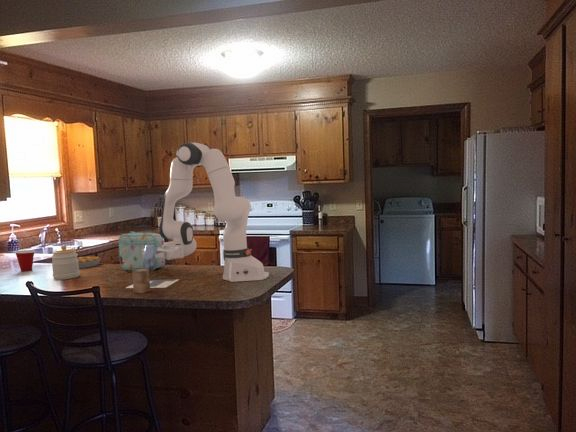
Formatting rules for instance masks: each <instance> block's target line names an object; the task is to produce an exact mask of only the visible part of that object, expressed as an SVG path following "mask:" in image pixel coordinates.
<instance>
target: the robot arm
mask: <svg viewBox="0 0 576 432" xmlns="http://www.w3.org/2000/svg"><path fill="white" fill-rule="evenodd" d="M176 156H177V157H175V158H173V160H172V161H171V164H170V171H169V185H168V188H167V190H166V191H165V193H164V196H163V204H162V212H161V219H160V222H159V225H158V232H159V233H158V234H160V235H161V237H162V238H163V240H171V241H167V242H164V244H163V245H162V248H160V247H158V248H157V253H156V254H154V258H165V260H167V261H172V260H177V259H183V258H184V257H187V256H189V255H192V254H193V253H194V252H196V249H197V247H198V246H197V245H198V244H197V241H196V240H195V238H194V236H195V235H194V228H193V225H192V224H191V223H190V222H188V221H181V220H175V219H174V215H175V214H174V213H175V208H176V207H175V206H176V203H177V201H179V200H181V199H182V198H185V197H187V196H189V195H190V193H192V190H193V186H194V184H193V182H194V181H193V179H194V177H193V173H194V169H195V168H200V167H203V168H204V169H205V172H206V175H207V177H208V180H209V182H210V185H211V188H212V191H213V196H214V197H213V199H214V206H213V214H214V216H215V218H216V219H217V220H219V221H220V222H221V221H222V222H226V223H225V228H224V230H223V235H222V238H223V251H222V254H223V255H222V256H223V261H224V266H223V267H224V268H223V275H222V280H225V281H229V282H230V283H233V282H246V281H247V282H249V281H250V282H251V281H263V280H265V279H268V278H269V277H270V272H269V271H265V267H264V264H263V262H261V261H260V260H259V259H257V258H256V257H254V256H253V255H252V250H253V249H252V248H249V247H248V242H247V227H248V221H249V220H248V218H249V215H250V212H251V209H252V208H251V207H252V206H251V203H250V201H249V199H247V198H245V197H243V196H236V192H235V191H236V190H235V185H236V182H235V179H234V176H233V174H232V170H231V169H230V166H229V164H228V161H227V159H226V157H225V155H224V154H223V152H222V151H221V149H219V148H212V147H211V146H210V145H208V144H206V143H201V142H200V143H199V142H184V143H182V144H181V145H179V147H177V150H176ZM144 252H145V249H143V250H142V253H143V254H142V256H143V257H144Z"/></svg>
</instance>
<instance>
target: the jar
mask: <svg viewBox="0 0 576 432" xmlns="http://www.w3.org/2000/svg"><path fill="white" fill-rule="evenodd" d="M76 251H77V250H76V249H74V248H72V247H67V245H66V244H63V245H61V247H60V248H58V249H57V248H56V249H55V250H54V251H52V254H53V255H52V256H50V259H52V262H51V265H52V277H53V279H54V280H55V281H56V280H57V281H59V280H60V281H62V280H71V279H75V278H78V277H80V268H79V265H78V260H77V258H78V255H79V254H78V253H77V252H76Z"/></svg>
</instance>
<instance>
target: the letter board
mask: <svg viewBox="0 0 576 432" xmlns="http://www.w3.org/2000/svg"><path fill="white" fill-rule="evenodd" d="M149 280H150V289H151V288H153V289H154V288H155V289H157V288H159V289H160V288H161V289H162V288H168V287H169V286H171V285H172V284H175V283H176V282H178V281H179V280H180V279H178V278H177V279H176V278H175V279H173V278H172V279H149ZM125 289H133V283H132V284H130V285H128V286H126V287H125Z"/></svg>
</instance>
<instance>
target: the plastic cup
mask: <svg viewBox="0 0 576 432" xmlns="http://www.w3.org/2000/svg"><path fill="white" fill-rule="evenodd" d="M14 253H15V255H16V258H17V263H18V265H19V266H18V267H19V269H20V271H21V272H30V271H32V270H33V265H34V256H35V253H36V250H33V249H28V250H27V249H26V250H15V251H14Z"/></svg>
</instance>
